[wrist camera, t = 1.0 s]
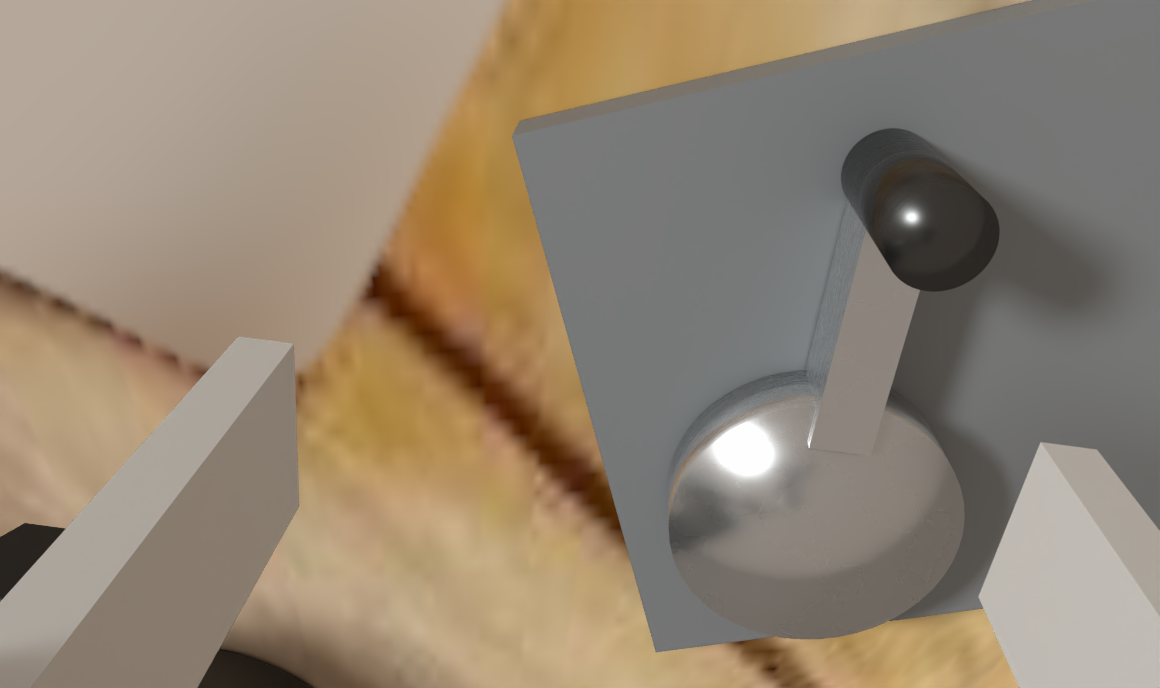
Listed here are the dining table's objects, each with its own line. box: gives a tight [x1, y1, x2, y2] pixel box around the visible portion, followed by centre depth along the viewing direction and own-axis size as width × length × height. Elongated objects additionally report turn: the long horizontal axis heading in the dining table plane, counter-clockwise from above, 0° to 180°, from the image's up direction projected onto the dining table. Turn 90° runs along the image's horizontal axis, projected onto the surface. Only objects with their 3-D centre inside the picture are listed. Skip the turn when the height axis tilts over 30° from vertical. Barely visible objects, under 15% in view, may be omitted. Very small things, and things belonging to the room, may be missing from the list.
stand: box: [512, 0, 1160, 652], centre depth 32 cm, size 25×22×2 cm
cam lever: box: [667, 128, 1000, 639], centre depth 30 cm, size 18×10×6 cm, turn 174°
